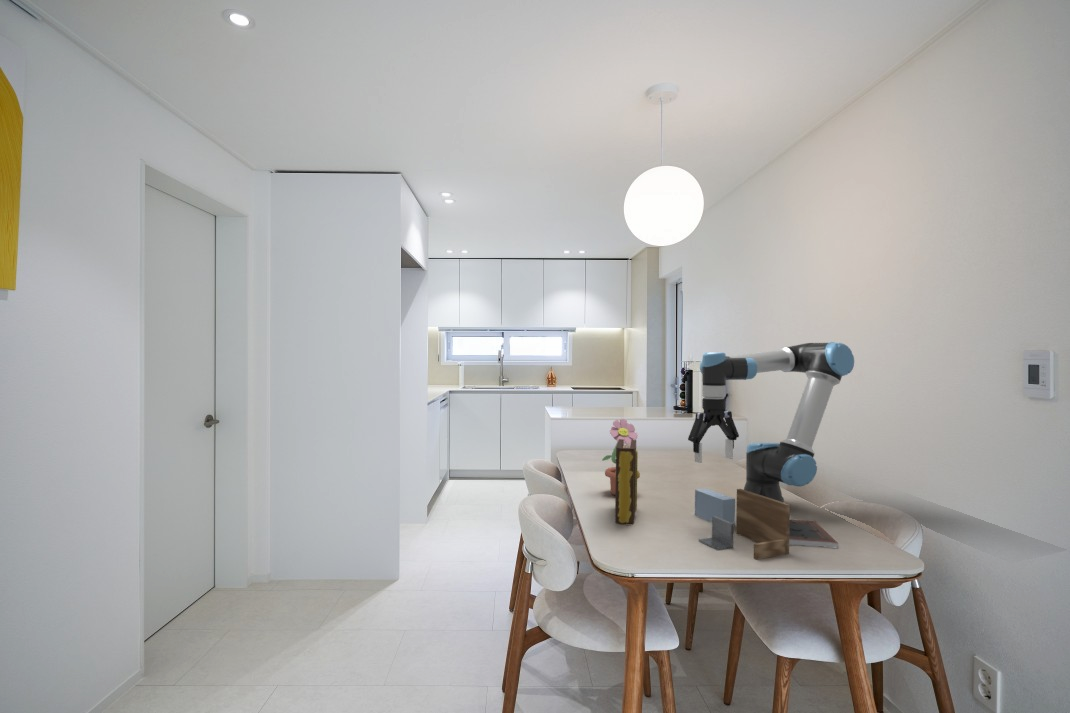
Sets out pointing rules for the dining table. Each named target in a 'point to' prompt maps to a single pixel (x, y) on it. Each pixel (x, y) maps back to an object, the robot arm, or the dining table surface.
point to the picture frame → (809, 534)
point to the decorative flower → (620, 432)
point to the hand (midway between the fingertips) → (713, 460)
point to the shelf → (763, 523)
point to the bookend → (720, 534)
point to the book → (626, 482)
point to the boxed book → (714, 505)
